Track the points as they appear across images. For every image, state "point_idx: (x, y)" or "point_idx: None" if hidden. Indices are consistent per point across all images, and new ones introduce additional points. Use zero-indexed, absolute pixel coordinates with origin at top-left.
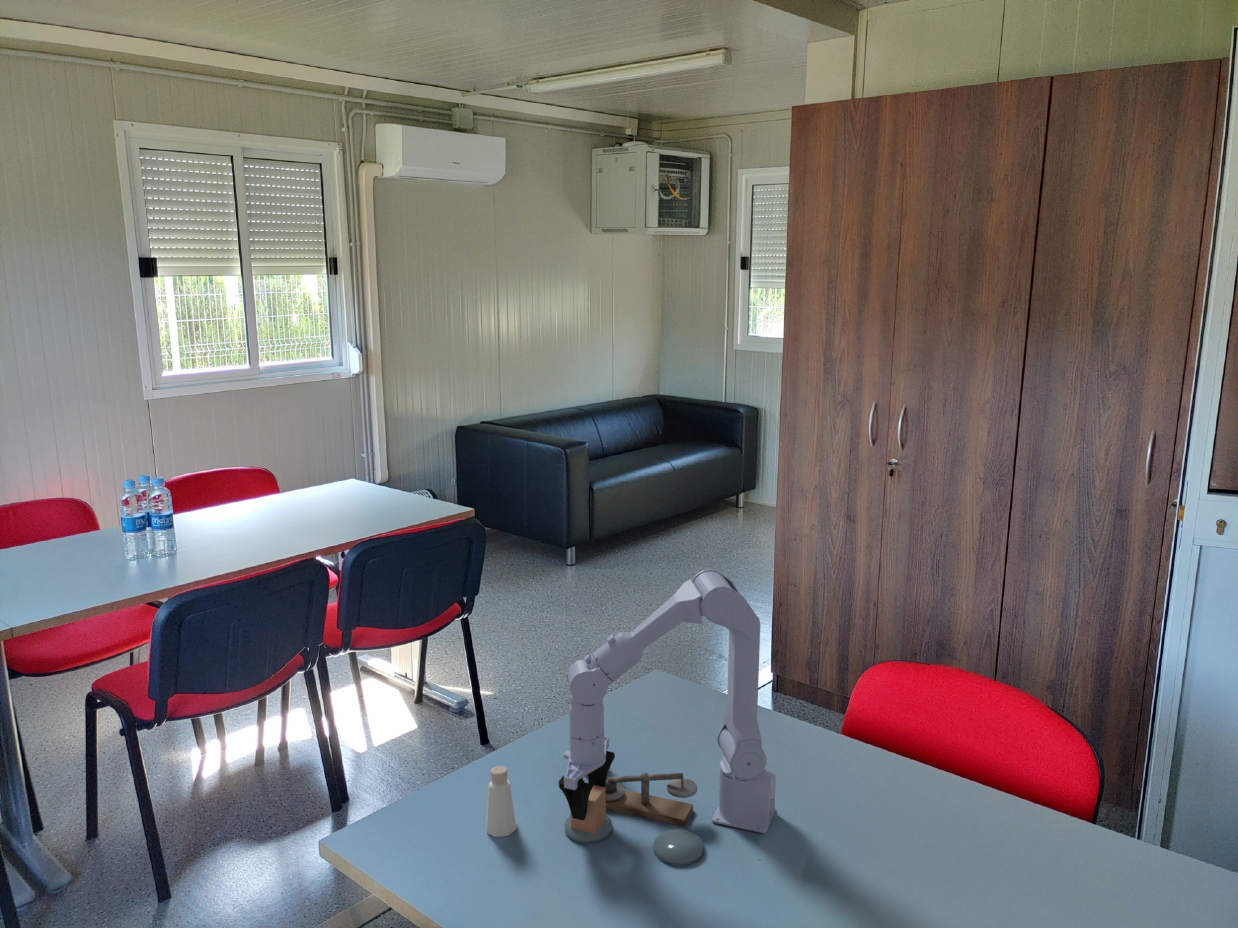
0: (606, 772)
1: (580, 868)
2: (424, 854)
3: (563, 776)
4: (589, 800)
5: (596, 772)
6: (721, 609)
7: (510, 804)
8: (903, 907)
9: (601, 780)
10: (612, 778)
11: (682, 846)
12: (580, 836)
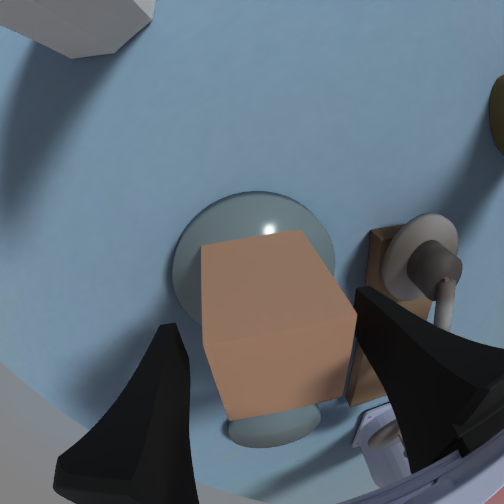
0: (395, 416)
1: (96, 334)
2: None
3: (125, 497)
4: (224, 407)
5: (403, 382)
6: None
7: (48, 22)
8: (277, 499)
9: (381, 371)
10: (444, 301)
11: (272, 433)
12: (180, 294)
